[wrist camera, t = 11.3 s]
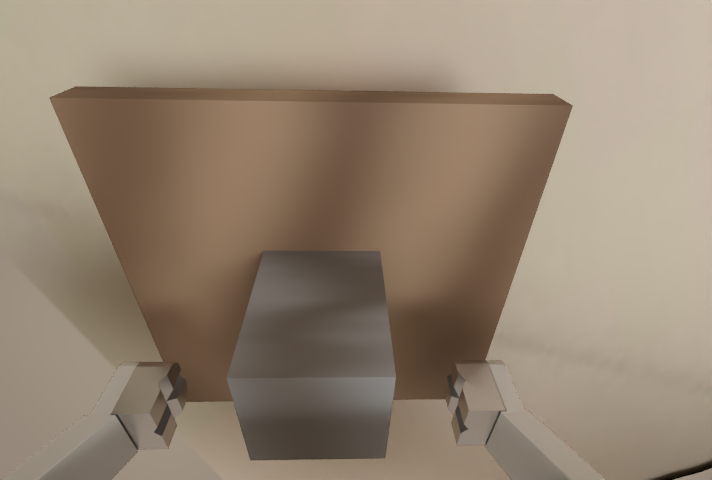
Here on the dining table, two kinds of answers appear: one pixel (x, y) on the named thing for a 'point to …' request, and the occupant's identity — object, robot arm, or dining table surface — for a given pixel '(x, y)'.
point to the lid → (315, 241)
